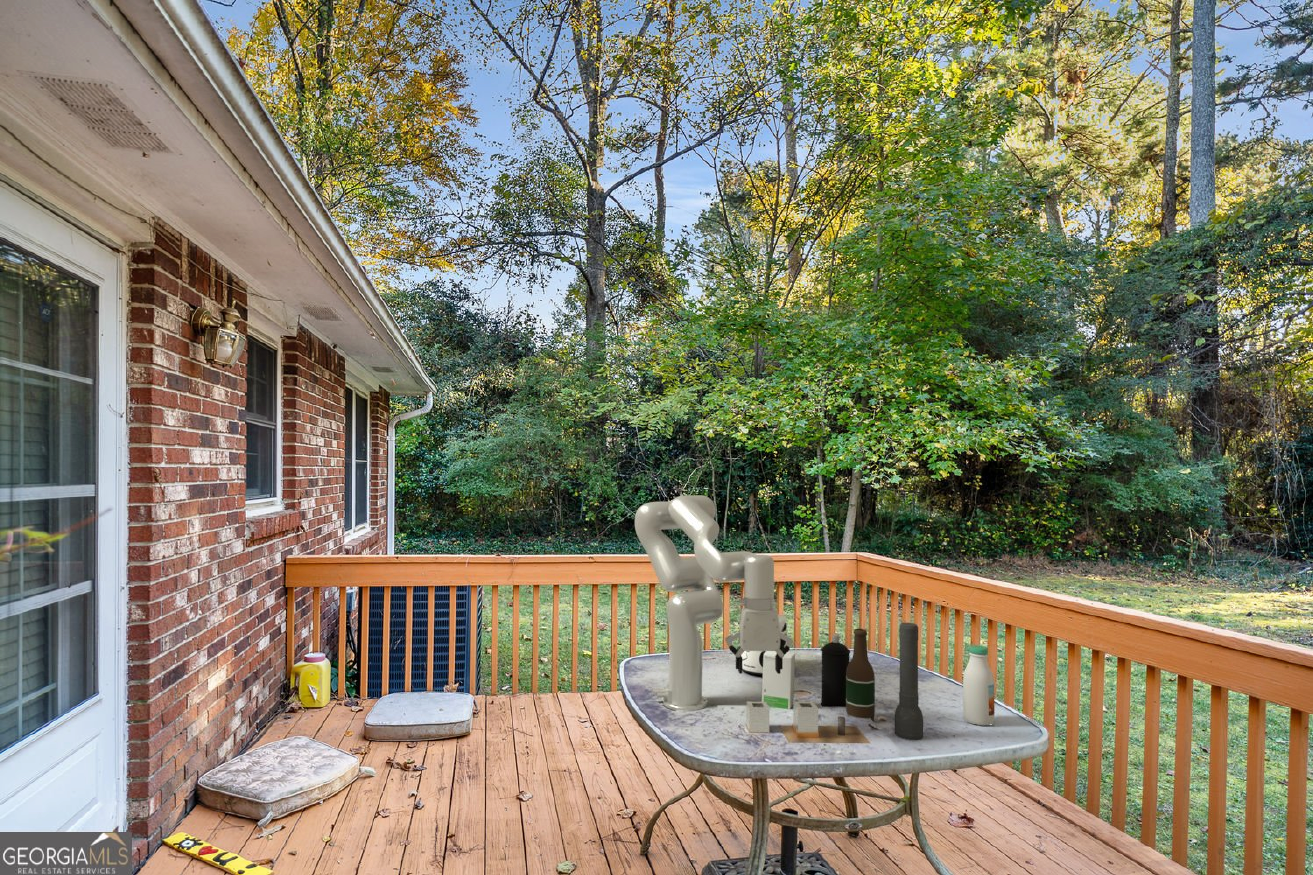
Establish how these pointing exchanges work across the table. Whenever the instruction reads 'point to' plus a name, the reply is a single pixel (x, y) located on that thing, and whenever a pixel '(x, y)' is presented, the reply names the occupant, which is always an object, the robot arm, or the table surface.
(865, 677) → the beer bottle
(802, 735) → the sleeve seated
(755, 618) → the robot arm
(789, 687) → the skincare box
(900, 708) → the flashlight
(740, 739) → the table surface
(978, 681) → the milk bottle
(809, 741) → the pin board
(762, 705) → the sleeve
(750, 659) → the milk container
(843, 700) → the aerosol can
